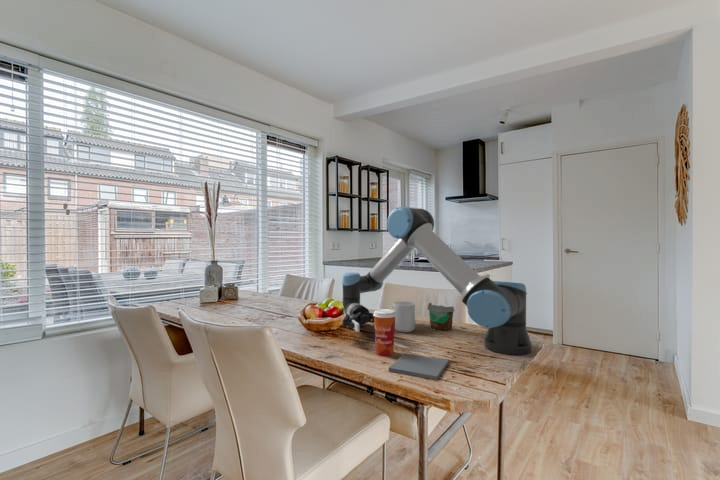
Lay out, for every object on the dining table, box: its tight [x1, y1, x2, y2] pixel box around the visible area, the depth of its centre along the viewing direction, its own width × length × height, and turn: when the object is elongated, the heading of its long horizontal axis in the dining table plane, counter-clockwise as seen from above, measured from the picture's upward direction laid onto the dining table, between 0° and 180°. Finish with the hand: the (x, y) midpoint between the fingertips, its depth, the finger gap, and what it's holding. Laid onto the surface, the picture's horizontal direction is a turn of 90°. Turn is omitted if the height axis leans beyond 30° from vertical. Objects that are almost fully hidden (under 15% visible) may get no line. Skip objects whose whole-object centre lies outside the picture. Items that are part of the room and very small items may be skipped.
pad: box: [388, 353, 449, 381], centre depth 105 cm, size 14×14×1 cm
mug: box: [392, 300, 416, 333], centre depth 148 cm, size 12×9×11 cm
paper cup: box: [373, 308, 396, 357], centre depth 117 cm, size 8×8×14 cm
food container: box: [426, 302, 455, 332], centre depth 148 cm, size 12×6×10 cm, turn 42°
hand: (376, 326), depth 123 cm, fingers open, 13 cm apart
